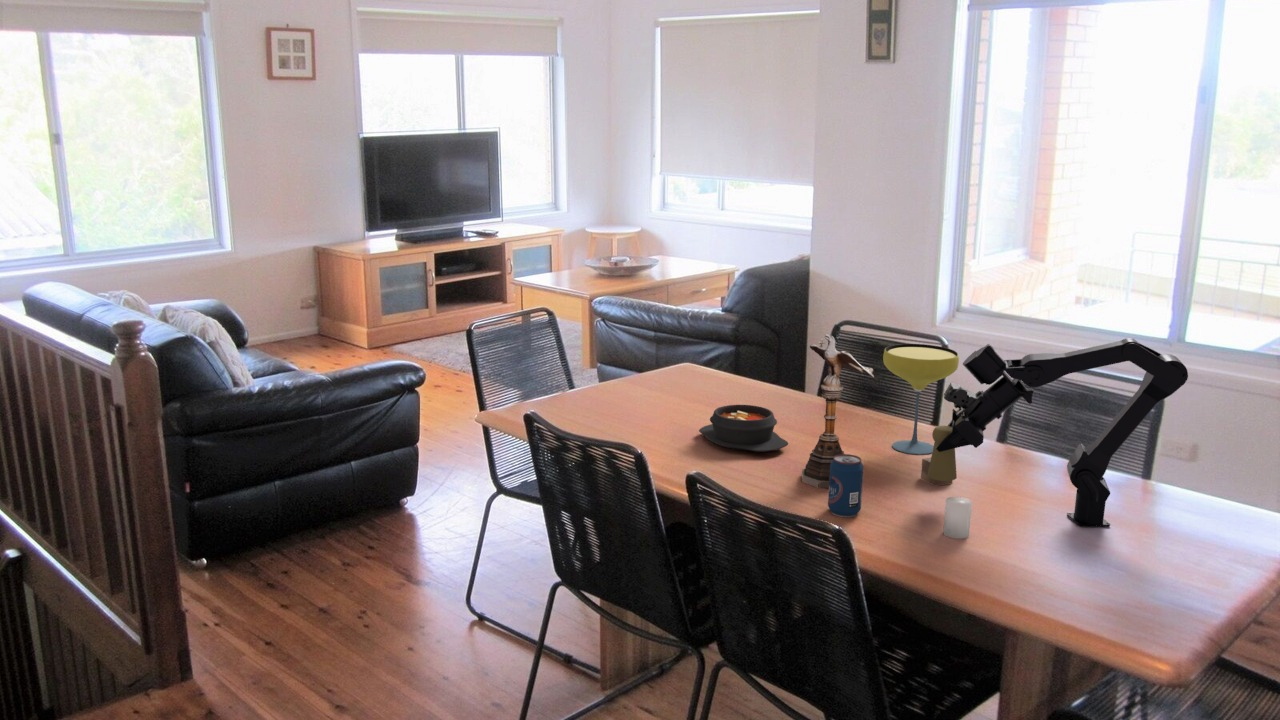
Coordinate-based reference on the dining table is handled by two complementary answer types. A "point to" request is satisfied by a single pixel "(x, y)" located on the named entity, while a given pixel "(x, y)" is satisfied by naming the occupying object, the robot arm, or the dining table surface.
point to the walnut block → (925, 473)
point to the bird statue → (829, 413)
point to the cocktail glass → (919, 378)
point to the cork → (942, 457)
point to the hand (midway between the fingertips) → (937, 446)
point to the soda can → (845, 485)
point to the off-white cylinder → (957, 517)
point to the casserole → (744, 428)
